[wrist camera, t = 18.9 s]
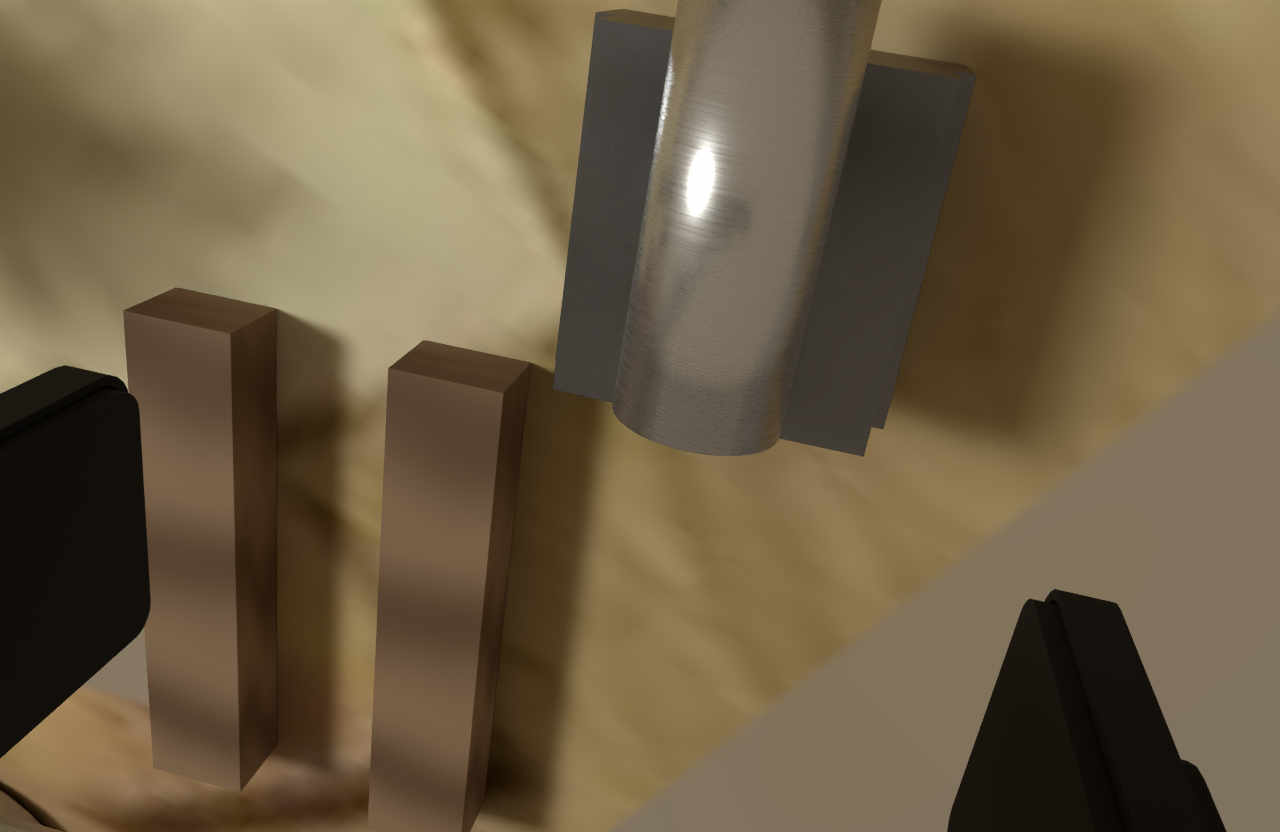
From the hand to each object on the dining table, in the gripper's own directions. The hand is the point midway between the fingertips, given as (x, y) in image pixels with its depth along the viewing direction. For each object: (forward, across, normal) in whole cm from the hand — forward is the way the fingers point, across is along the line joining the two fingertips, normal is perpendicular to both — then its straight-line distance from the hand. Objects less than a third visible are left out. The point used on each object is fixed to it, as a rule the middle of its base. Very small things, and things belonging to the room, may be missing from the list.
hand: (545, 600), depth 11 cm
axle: (+15, -1, -1) cm, 16 cm away
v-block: (+20, 0, 0) cm, 20 cm away
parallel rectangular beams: (+20, +12, +15) cm, 28 cm away
